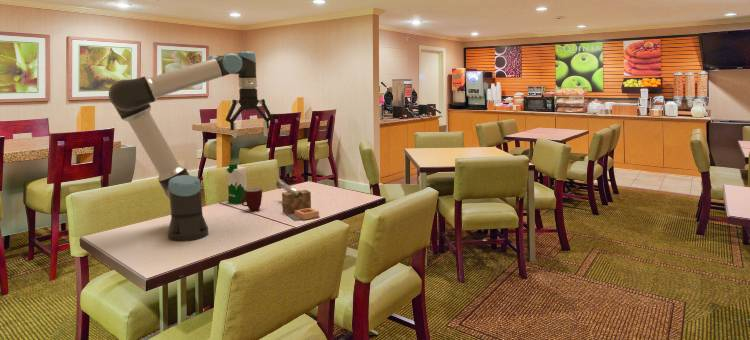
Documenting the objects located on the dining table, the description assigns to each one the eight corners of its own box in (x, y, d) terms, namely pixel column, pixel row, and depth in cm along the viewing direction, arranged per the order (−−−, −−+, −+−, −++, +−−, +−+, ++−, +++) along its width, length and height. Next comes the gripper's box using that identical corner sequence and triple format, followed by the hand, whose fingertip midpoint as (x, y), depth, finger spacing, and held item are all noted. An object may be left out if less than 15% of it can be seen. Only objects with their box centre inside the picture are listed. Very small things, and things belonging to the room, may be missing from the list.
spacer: (294, 215, 216) (303, 219, 210) (294, 210, 215) (303, 214, 209) (309, 212, 221) (318, 216, 214) (309, 207, 220) (318, 211, 214)
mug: (247, 214, 220) (246, 193, 219) (237, 211, 226) (236, 190, 224) (266, 209, 228) (265, 189, 226) (256, 207, 233) (255, 187, 232)
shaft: (301, 198, 223) (301, 188, 222) (292, 199, 221) (292, 189, 220) (284, 187, 246) (284, 179, 245) (276, 188, 243) (275, 180, 243)
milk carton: (225, 202, 242) (223, 164, 238) (239, 199, 249) (237, 161, 246) (237, 205, 237) (235, 165, 234) (251, 201, 245) (249, 163, 241)
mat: (294, 220, 209) (294, 220, 209) (286, 215, 219) (286, 214, 219) (319, 217, 215) (319, 216, 215) (311, 211, 224) (311, 210, 224)
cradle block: (286, 215, 219) (286, 195, 217) (282, 212, 224) (282, 192, 222) (311, 211, 224) (310, 192, 223) (306, 208, 229) (306, 189, 228)
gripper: (220, 88, 196) (223, 139, 200) (278, 88, 208) (280, 136, 212) (216, 88, 203) (219, 137, 206) (273, 88, 214) (275, 134, 218)
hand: (250, 136), depth 209 cm, fingers open, 13 cm apart
